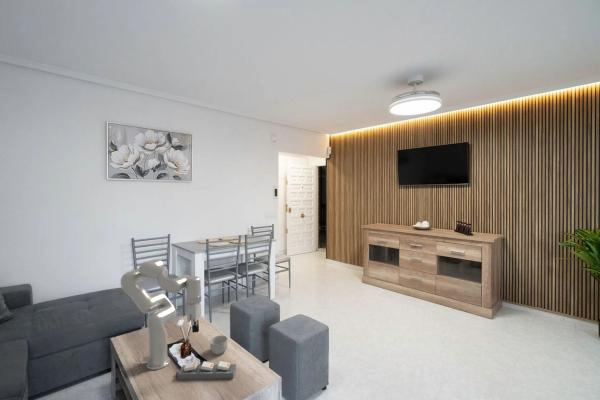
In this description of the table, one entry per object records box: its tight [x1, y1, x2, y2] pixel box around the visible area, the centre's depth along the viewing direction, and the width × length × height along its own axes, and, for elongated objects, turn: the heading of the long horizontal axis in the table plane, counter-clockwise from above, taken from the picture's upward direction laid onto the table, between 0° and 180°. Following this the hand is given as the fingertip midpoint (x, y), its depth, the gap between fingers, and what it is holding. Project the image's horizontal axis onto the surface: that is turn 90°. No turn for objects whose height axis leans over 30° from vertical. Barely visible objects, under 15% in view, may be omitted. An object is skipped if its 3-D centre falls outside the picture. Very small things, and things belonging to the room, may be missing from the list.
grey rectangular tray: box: [176, 363, 237, 381], centre depth 159 cm, size 32×8×4 cm, turn 92°
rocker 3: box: [217, 360, 231, 370], centre depth 159 cm, size 6×4×2 cm
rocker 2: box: [201, 360, 215, 371], centre depth 159 cm, size 6×4×2 cm
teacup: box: [209, 333, 228, 355], centre depth 183 cm, size 14×11×8 cm
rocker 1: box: [184, 361, 199, 371], centre depth 158 cm, size 6×4×2 cm
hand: (195, 331), depth 160 cm, fingers closed
